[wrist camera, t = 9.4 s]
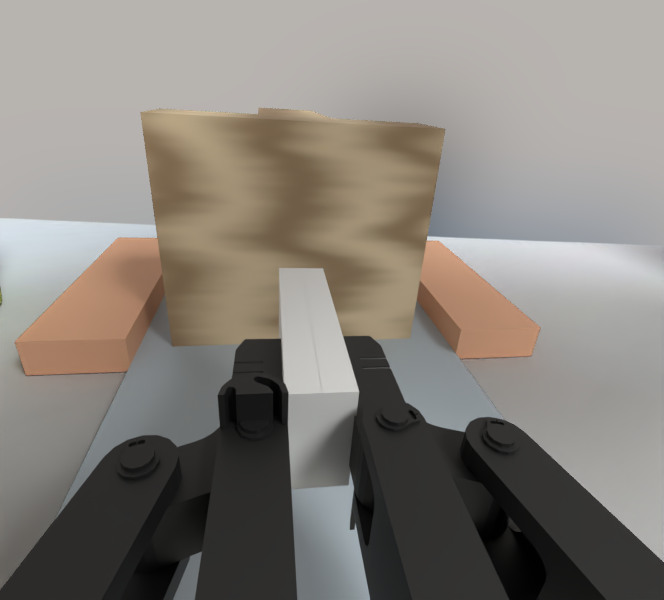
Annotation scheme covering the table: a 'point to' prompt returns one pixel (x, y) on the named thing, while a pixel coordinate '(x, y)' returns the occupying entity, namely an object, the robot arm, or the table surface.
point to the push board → (217, 368)
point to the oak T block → (288, 217)
